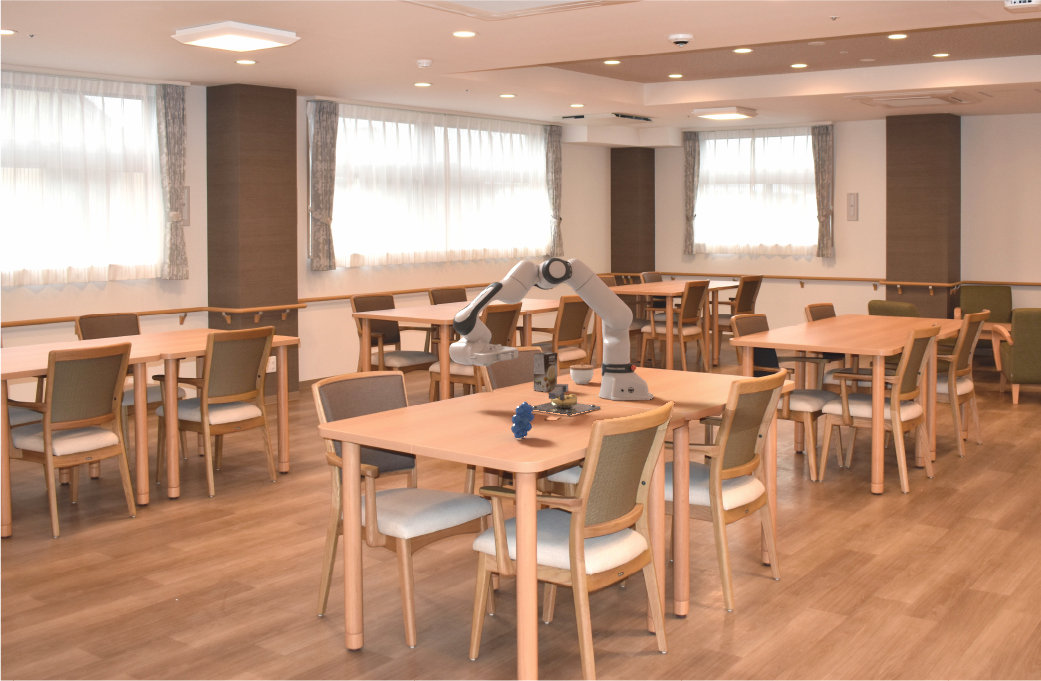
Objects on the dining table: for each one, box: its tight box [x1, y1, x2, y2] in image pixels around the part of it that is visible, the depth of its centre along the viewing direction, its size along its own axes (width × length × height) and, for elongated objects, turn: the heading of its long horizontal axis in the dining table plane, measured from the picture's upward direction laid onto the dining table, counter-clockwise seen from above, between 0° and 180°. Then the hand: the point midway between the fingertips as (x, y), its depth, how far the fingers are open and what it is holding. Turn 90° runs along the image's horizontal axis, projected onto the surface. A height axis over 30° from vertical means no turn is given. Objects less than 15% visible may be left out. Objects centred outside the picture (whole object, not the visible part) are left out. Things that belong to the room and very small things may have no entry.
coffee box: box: [533, 351, 558, 393], centre depth 415 cm, size 9×6×16 cm
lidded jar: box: [569, 361, 595, 385], centre depth 435 cm, size 11×11×9 cm
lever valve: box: [548, 383, 578, 406], centre depth 361 cm, size 28×10×8 cm, turn 166°
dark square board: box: [531, 401, 601, 415], centre depth 370 cm, size 20×20×2 cm
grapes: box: [510, 401, 535, 439], centre depth 318 cm, size 12×7×12 cm, turn 146°
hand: (512, 356), depth 362 cm, fingers closed
